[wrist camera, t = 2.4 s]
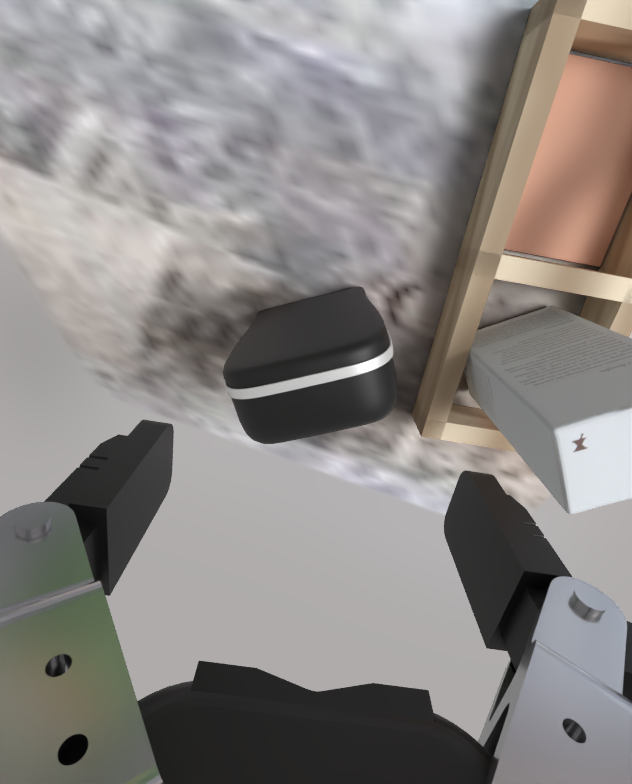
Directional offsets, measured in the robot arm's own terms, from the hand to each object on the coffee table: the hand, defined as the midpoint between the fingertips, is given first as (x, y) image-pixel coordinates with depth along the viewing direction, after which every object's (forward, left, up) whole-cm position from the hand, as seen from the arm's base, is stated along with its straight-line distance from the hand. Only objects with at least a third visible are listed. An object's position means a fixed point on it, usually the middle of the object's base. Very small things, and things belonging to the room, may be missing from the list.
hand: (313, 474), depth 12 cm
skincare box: (+12, +1, -16) cm, 20 cm away
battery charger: (0, 0, -16) cm, 16 cm away
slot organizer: (+12, +6, -16) cm, 20 cm away
